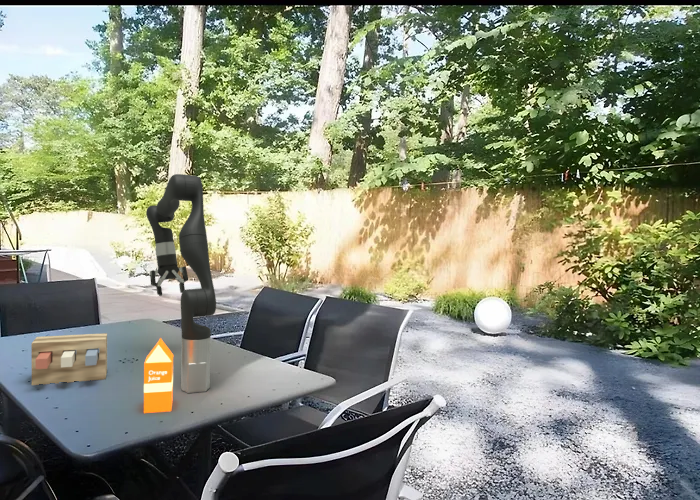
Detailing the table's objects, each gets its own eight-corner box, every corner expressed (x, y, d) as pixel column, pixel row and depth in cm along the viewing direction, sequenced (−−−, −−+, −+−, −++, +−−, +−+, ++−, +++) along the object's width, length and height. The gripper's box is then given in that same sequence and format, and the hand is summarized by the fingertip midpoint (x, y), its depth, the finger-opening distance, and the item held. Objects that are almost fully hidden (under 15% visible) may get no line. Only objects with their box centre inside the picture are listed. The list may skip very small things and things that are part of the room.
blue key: (96, 364, 168) (96, 355, 168) (85, 365, 167) (85, 356, 167) (98, 356, 178) (98, 347, 178) (88, 357, 177) (88, 348, 177)
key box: (105, 379, 177) (105, 339, 176) (31, 385, 168) (31, 343, 168) (107, 371, 186) (107, 333, 185) (37, 376, 178) (36, 336, 177)
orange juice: (143, 413, 147) (143, 344, 146) (146, 402, 156) (146, 337, 155) (171, 411, 150) (172, 343, 148) (173, 400, 158) (174, 336, 157)
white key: (72, 366, 165) (72, 356, 165) (60, 367, 164) (60, 357, 164) (75, 358, 176) (75, 348, 175) (65, 358, 174) (65, 349, 174)
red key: (47, 368, 163) (47, 358, 163) (35, 369, 161) (35, 359, 161) (52, 359, 173) (52, 350, 173) (41, 360, 172) (41, 350, 171)
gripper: (150, 255, 198) (156, 296, 198) (186, 251, 207) (192, 291, 206) (145, 257, 204) (150, 297, 204) (180, 253, 213) (185, 291, 212)
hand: (171, 294), depth 205 cm, fingers open, 8 cm apart
